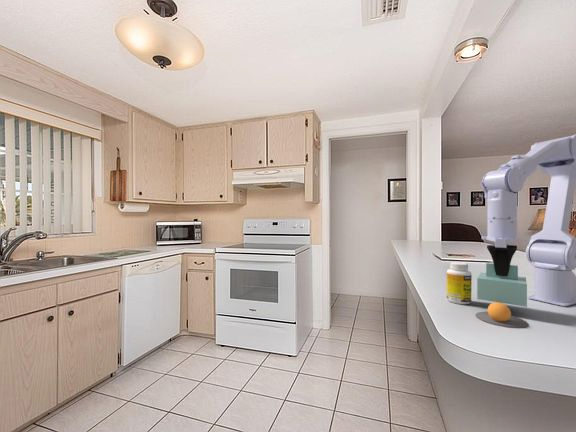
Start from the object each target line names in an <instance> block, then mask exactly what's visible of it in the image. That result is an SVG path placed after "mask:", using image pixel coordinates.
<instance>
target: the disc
mask: <svg viewBox="0 0 576 432" xmlns="http://www.w3.org/2000/svg"><path fill="white" fill-rule="evenodd" d="M475 317H476V318H477V319H478V320H480V321H482V322H485V323H488V324H490V325H495V326H498V327H505V328H510V329H511V328H512V329H513V328H515V329H523V328H527V327H528V325H529V323H528V322H527V321H526V320H524V319H522V318H520V317H517V316H514V315H511V317H510V319H509V320H507V321H505V322H498V321H495V320H493V319H492V318H491V317H490V316H489V314H488V311H478V312H476V313H475Z"/></svg>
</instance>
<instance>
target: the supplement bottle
mask: <svg viewBox="0 0 576 432" xmlns="http://www.w3.org/2000/svg"><path fill="white" fill-rule="evenodd" d="M449 265H450V266H449V267H450V269H447V271H446V300H447V301H449V302H450V303H453V304H458V305H469V304H471V303H472V279H473V278H472V276H473V275H472V272H471V271H470V270H469V264H468V263H466V262H458V261H452V262H450V264H449Z"/></svg>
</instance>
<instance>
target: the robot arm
mask: <svg viewBox="0 0 576 432" xmlns="http://www.w3.org/2000/svg"><path fill="white" fill-rule="evenodd" d="M537 169H539V170H540V171H541V172H542V174H545V175H546V174H547V175H549V176H550V184H549V190H548V195H547V201H546V207H545V215H544V219H543V225H542V230H540V231H538V232H536V233H534V234H533V235H531V236H530V239H529V243H528V244H527V246H526V248H525V257H526V259H527V261H528V262H529V263H530V264H531V266H532V267H534V294H533V295H532V294H531V295H527V299H530V300H535V301H539V302H543V303H547V304H552V305H556V306H557V305H558V306H561V307H568V306H571V305H575V304H576V274H575V272H573V271H574V270H576V237H575V236H574V235H572V234H571V233H569V228H570V222H571V216H572V209H573V204H574V203H573V202H574V196H575V190H576V134H573V135H570V136H569V135H568V136H565V137H559V138H555V139H549V140H545V141H538V142H535V143H533V144H532V145H531V146H530V151H528V152H526V154H525V155H520V154H518V155H513V156H511V157H510V160H509V161H508V162H506V163H503V164H502V165H500V167H499V168H498V169H497V170H491V171H488V172H487V173H486V174H484V176H483V177H482V181H481V183H480V186H481V189H482V191H483V192H484V199H485V201H486V202H487V209H486V210H487V215H486V217H487V225H486V226H487V230H486V231H487V232H486V233H487V235H486V236H485V235H484V236H483V235H482V236H481V240H486V241H491V242H494V244H493V245H492V244H491V245H490V244H489V245H486V249H487V250H488V252H489V254H490V256H491V258H492V262H493V264H494V269H495V273H496V275H497V276H506V277H507V276H508V273H509V268H510V265H511V262H512V260H513V257H514V255H515V253H516V251H518V250H517V249H518V247H517V245H513V244H511V245H510V244H509V243H514V242H516V243H517V242H519V237H518V192H521V191H522V189H523V187H524V184H525V182H526V180H527V179H529V178H530V177H531V176H532V175H534V173H536V171H537Z"/></svg>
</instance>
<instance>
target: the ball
mask: <svg viewBox="0 0 576 432" xmlns="http://www.w3.org/2000/svg"><path fill="white" fill-rule="evenodd" d="M487 312H488V314H489V316H490V317H491V318H492V319H493V320H495V321H498V322H505V321H507V320H509V319H510V317H511V316H512V312H511V309H510V308H509V306H507V304H505V303H499V302H492V303H490V304H489V305H488V307H487Z"/></svg>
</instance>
